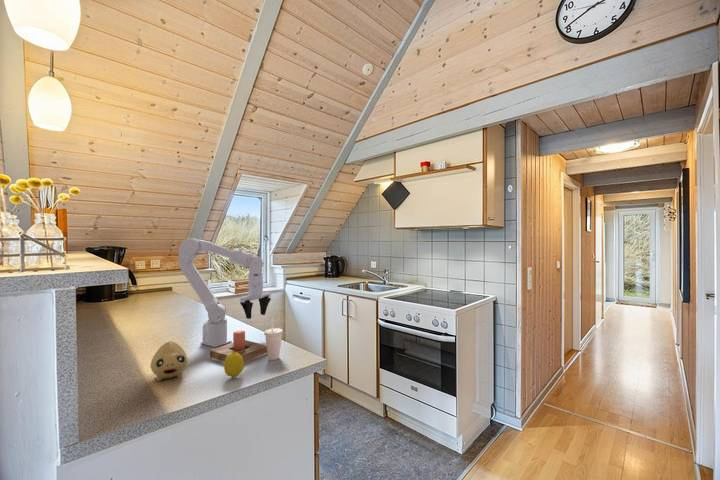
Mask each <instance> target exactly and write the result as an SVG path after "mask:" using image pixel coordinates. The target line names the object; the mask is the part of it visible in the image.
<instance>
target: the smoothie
mask: <svg viewBox="0 0 720 480" xmlns="http://www.w3.org/2000/svg"><path fill="white" fill-rule="evenodd" d="M283 333H284V331H283V329H282V328H274V318H271V328H268V329H266V330H264V333H263V335H264V336H265V343H266V344H265V345H267V352H268V354H267V359H268V360H270V361H276V360H279V358H280V353H281V344H282V338H283V337H282V334H283Z"/></svg>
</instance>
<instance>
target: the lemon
mask: <svg viewBox="0 0 720 480" xmlns="http://www.w3.org/2000/svg"><path fill="white" fill-rule="evenodd" d="M244 364H245V363H244V362H243V358H242V356H241V355H240V354H239V353H236V352H232V353H231V354H229V355H228V356H227V357H226V359H225V362H224V363H223V368H224V373H225V375H226V376H228V377H230V378H232V379H236V378H237V377H238V376H239V375H241V373H243V369H244V367H245V366H244Z"/></svg>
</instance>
